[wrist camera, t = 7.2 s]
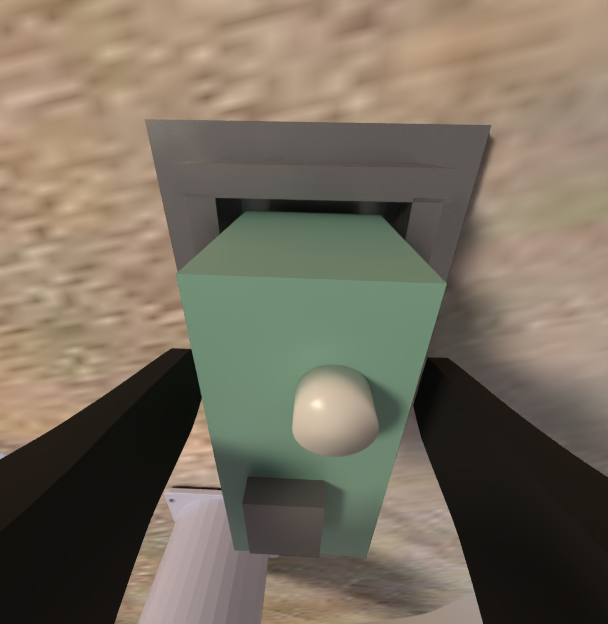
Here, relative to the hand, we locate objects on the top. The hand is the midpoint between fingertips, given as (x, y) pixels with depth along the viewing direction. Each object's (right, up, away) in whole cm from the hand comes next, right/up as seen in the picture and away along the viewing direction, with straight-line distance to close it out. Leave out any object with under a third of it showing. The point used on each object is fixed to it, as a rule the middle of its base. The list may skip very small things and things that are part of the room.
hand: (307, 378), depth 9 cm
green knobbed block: (0, +1, +2) cm, 2 cm away
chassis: (0, +2, +4) cm, 5 cm away
